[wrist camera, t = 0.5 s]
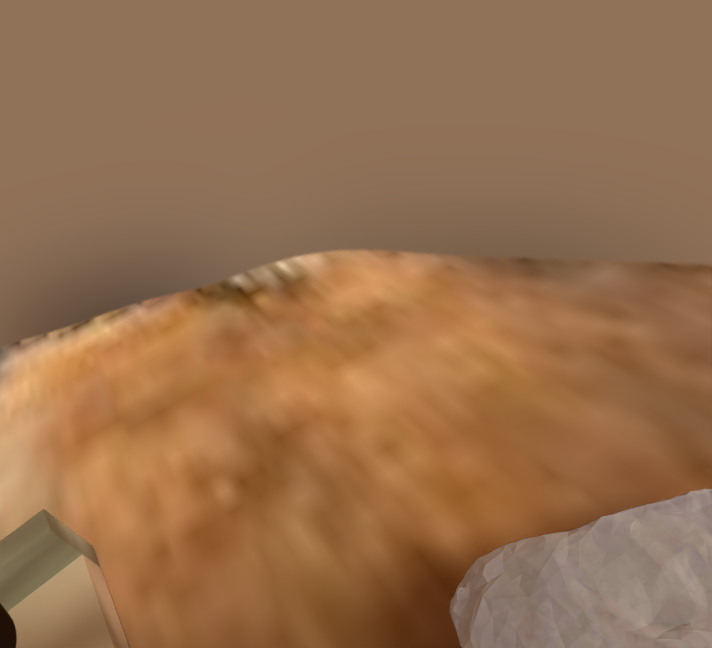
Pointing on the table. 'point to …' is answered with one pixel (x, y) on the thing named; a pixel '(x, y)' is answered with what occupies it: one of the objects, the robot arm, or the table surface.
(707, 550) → the stone block
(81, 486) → the table surface
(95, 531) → the table surface
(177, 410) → the table surface
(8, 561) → the trap board
